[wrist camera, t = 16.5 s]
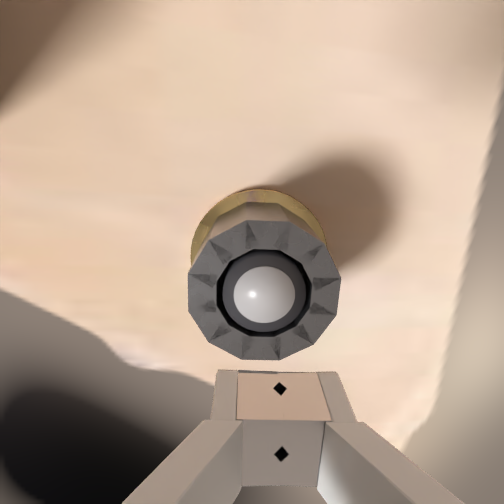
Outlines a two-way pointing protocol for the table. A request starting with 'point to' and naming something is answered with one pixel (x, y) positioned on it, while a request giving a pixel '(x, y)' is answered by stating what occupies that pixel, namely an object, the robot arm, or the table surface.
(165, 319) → the table surface
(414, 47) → the table surface
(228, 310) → the camera lens
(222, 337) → the lens barrel
